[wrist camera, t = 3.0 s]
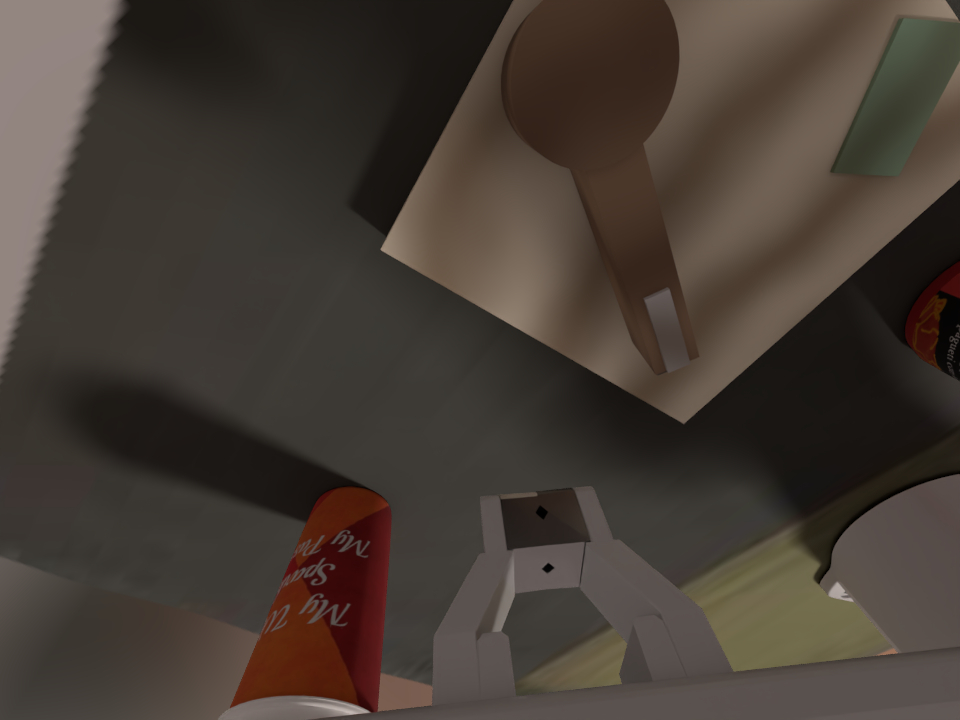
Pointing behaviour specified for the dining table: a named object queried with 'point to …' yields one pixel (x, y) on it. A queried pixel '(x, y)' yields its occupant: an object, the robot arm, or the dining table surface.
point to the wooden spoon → (608, 144)
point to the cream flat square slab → (706, 183)
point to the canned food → (938, 323)
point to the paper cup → (324, 617)
